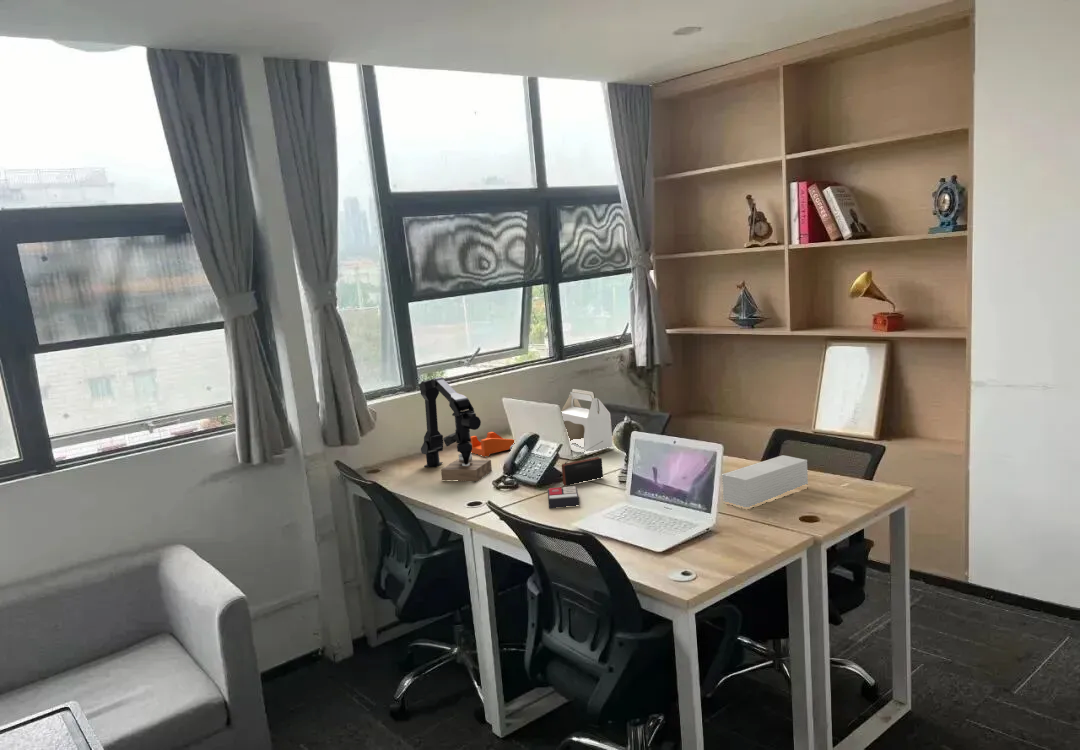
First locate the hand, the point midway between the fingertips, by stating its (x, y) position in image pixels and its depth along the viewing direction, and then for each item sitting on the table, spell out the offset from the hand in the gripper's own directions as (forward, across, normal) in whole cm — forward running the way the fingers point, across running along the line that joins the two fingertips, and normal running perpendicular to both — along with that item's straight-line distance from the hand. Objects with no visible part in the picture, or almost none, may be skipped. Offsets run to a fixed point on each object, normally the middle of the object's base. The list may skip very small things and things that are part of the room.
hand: (465, 462), depth 330 cm
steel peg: (+4, 0, 0) cm, 4 cm away
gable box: (+6, -22, +56) cm, 61 cm away
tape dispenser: (+7, -39, +14) cm, 42 cm away
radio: (+6, +28, +46) cm, 55 cm away
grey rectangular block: (+6, +71, +103) cm, 125 cm away
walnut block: (+6, 0, 0) cm, 6 cm away
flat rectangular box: (+6, +49, +34) cm, 60 cm away
